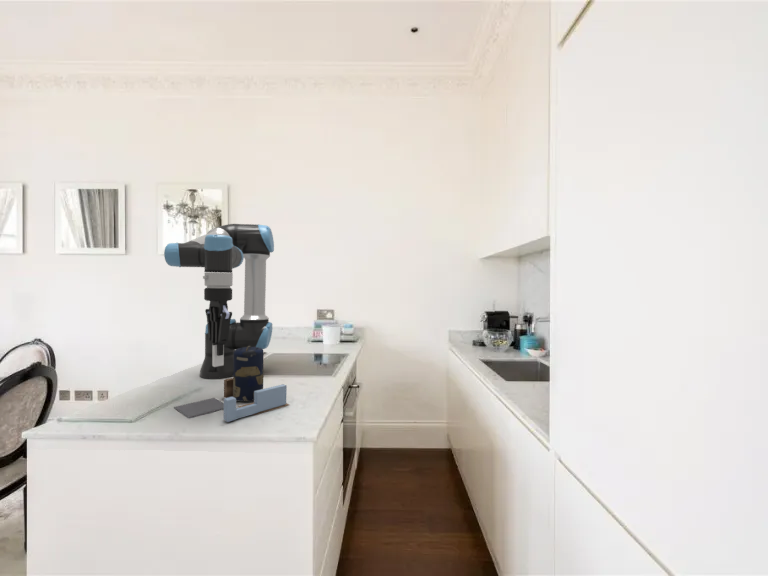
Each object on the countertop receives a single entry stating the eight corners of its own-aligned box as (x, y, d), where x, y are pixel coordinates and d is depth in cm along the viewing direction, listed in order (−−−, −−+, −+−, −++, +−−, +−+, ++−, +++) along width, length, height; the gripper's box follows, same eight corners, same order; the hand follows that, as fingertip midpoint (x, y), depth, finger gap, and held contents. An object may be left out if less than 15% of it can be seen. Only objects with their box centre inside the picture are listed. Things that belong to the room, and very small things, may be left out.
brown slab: (220, 397, 115) (221, 380, 115) (254, 390, 124) (254, 373, 124) (254, 415, 101) (254, 395, 101) (289, 405, 110) (289, 386, 110)
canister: (267, 394, 119) (268, 343, 119) (255, 404, 110) (255, 348, 110) (242, 393, 120) (242, 342, 120) (227, 402, 111) (227, 347, 111)
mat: (173, 408, 105) (173, 406, 105) (213, 398, 114) (213, 397, 114) (188, 418, 97) (188, 417, 97) (230, 407, 106) (230, 406, 106)
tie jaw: (223, 419, 96) (223, 398, 96) (282, 402, 110) (283, 384, 110) (227, 422, 94) (227, 400, 94) (287, 404, 109) (287, 385, 109)
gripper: (196, 286, 103) (196, 363, 103) (214, 288, 94) (214, 372, 95) (221, 286, 108) (221, 359, 109) (241, 287, 100) (240, 367, 101)
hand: (218, 365), depth 102 cm, fingers closed
